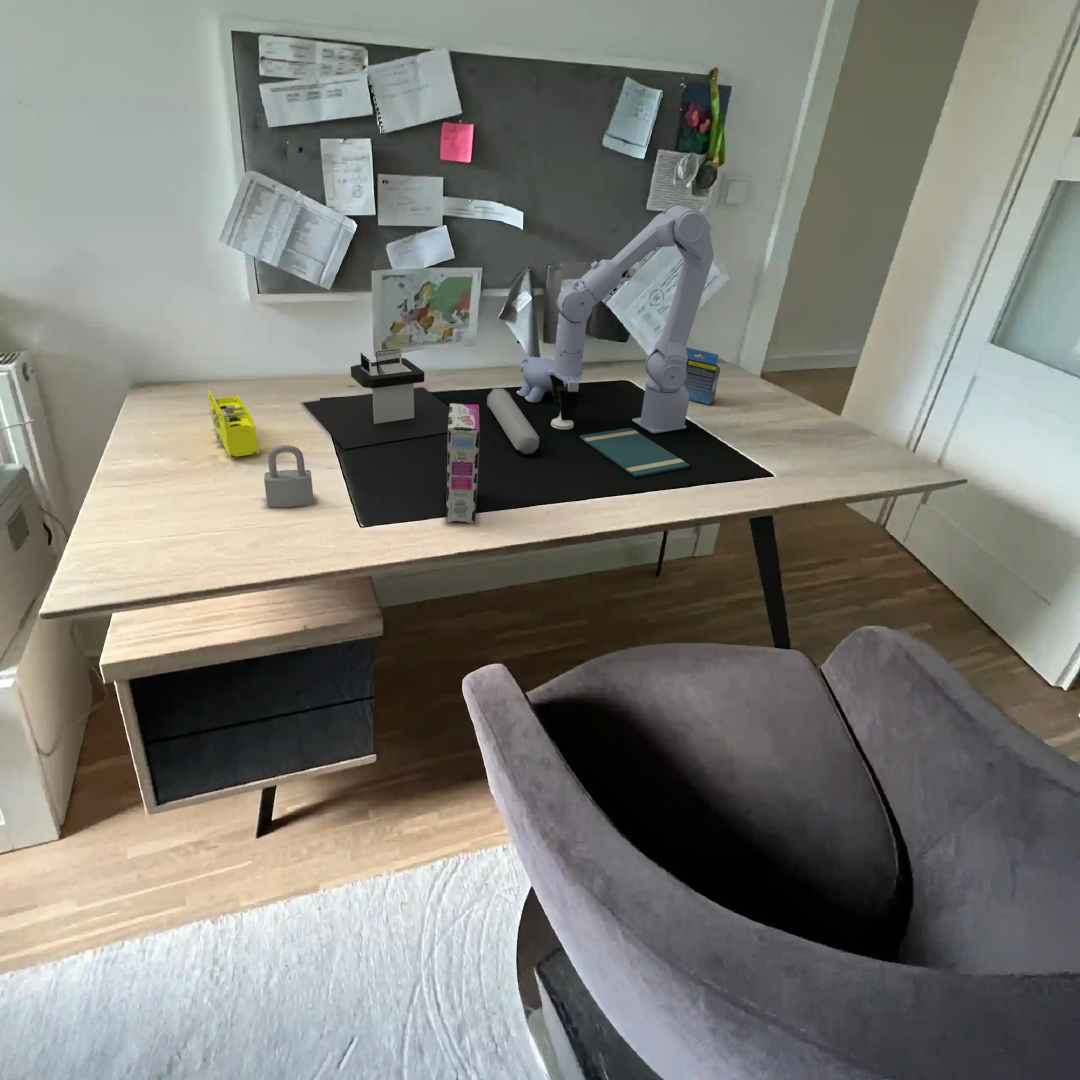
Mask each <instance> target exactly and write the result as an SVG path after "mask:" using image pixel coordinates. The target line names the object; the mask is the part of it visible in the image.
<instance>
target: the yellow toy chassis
mask: <svg viewBox="0 0 1080 1080" xmlns="http://www.w3.org/2000/svg"><path fill="white" fill-rule="evenodd" d="M207 396H208V401H209V408H210V417H211V419H212V420H211V421H212V425H213V427H214V429H215V431H216V433H215V437H216V440H218V443H219V446H223V447H224V449H225V450H226V453H227V454H228V457H229V458H232V456H233V457H236V458H237V457H244V456H251V455H253V454H255V453H257V454H259V446H258V445H259V444H258V442H259V440H258V435H257V431H256V427H255V422H254V419H253V416H252V415H251V413H250V412H249V410H248V409H247V407H246V405H245V403H244V402H243V401H242V399H241V398H240V396H239V394H235V397H232V396H227V397H226V396H225V397H217V395H216V394H215V393H212V391H211V390H208V394H207Z"/></svg>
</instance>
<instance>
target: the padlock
mask: <svg viewBox="0 0 1080 1080" xmlns="http://www.w3.org/2000/svg"><path fill="white" fill-rule="evenodd" d="M283 453H290V454H293V455H294V456H295V460H296V468H297V469H283V470H282V469H281V470H278V469H277V456H278V455H279V454H283ZM267 463H268V471H266V472H264V474H263V475H264V476H263V478H264V479H263V482H264V489H265V498H266V504H267V507H268V508H294V507H301V506H306V505H307V506H308V505H313V504H314V503H315V501H314V490H313V480H312V470H311V469H306V467H305V459H304V454H303V452H302V451H301V450H300V449H299V447H296V446H294V445H288V444H287V445H285V444H284V445H279V446H278V445H277V446H275V447H273V448H272V449H270V451H269V452H268V455H267Z"/></svg>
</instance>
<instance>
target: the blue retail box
mask: <svg viewBox="0 0 1080 1080" xmlns="http://www.w3.org/2000/svg"><path fill="white" fill-rule="evenodd" d="M686 350H687V357H688V360H687V363H686V373H687V376H686V380H685V382H684V384H683V386H685V387H686V389H687V391H688V394H689V401H693V402H697V403H700V404H704V405H708V406H709V405H711V404H713V402H714V401H715V398H716V392H717V388H718V382H719V377H720V373H721V367H719V365H717V364H718V359H719V354H717V353H714V352H709V351H705V350H700V349H696V348H691V347H687V346H686ZM695 355H697V356H695ZM699 355H701V356H702V357H705V358H702V357H698V356H699Z"/></svg>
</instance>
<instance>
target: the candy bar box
mask: <svg viewBox="0 0 1080 1080" xmlns="http://www.w3.org/2000/svg"><path fill="white" fill-rule="evenodd" d="M480 427H481V426H480V405H479V404H474V403H449V419H448V432H447V456H446V457H447V461H446V466H447V467H446V502H445V503H446V508H445V509H446V511H445V514H446V515H445V523H447V524H461V525H475V524H476V516H477V515H476V514H477V499H478V482H479V481H478V480H479V462H480V461H479V459H480V435H481V434H480Z"/></svg>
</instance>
